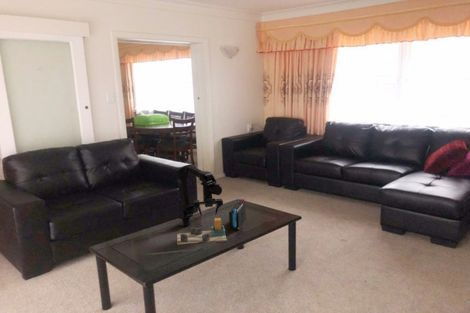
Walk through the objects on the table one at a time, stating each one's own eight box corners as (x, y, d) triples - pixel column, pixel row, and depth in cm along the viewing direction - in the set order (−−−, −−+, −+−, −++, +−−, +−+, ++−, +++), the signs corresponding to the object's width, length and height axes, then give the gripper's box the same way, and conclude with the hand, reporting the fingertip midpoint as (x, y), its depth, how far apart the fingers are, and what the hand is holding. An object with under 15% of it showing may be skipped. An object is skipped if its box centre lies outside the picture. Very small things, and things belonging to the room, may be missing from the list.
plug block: (214, 231, 236) (214, 218, 234) (221, 231, 237) (220, 217, 235) (215, 234, 232) (214, 220, 231) (221, 233, 233) (221, 219, 231)
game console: (237, 232, 238) (236, 210, 235) (228, 231, 239) (227, 210, 237) (247, 217, 264) (246, 198, 262) (238, 217, 266) (238, 197, 263)
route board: (177, 235, 237) (176, 227, 236) (223, 230, 241) (223, 223, 240) (177, 246, 220) (176, 238, 220) (226, 241, 225) (226, 233, 224)
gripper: (193, 197, 222) (194, 221, 225) (223, 194, 225) (224, 219, 228) (192, 191, 233) (193, 215, 236) (221, 189, 236) (222, 212, 239)
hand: (208, 215), depth 235 cm, fingers open, 9 cm apart
